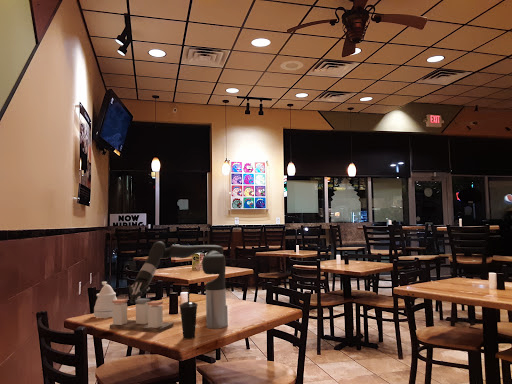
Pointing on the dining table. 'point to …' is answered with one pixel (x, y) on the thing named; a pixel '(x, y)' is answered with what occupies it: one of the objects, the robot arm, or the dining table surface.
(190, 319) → the drinking cup
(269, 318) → the dining table surface
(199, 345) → the dining table surface
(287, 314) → the dining table surface
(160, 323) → the white lidded canister
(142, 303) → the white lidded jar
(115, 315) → the white spice jar
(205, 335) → the dining table surface
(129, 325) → the wooden serving board
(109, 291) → the honey pot
